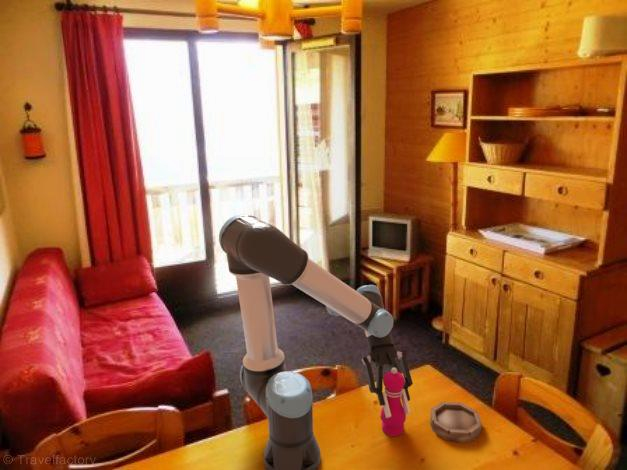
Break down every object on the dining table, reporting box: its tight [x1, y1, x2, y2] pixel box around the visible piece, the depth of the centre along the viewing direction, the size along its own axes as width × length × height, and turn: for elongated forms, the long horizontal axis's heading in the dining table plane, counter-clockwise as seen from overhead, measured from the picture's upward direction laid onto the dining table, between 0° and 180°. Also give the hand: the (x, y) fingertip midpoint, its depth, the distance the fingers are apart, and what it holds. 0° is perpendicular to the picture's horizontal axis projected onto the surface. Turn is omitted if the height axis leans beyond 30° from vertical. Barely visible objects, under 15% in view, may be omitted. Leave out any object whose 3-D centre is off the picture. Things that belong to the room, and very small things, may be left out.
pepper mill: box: [380, 368, 407, 437], centre depth 133 cm, size 7×7×20 cm
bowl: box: [429, 401, 483, 444], centre depth 135 cm, size 14×14×3 cm
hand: (398, 415), depth 130 cm, fingers closed on pepper mill, 5 cm apart
